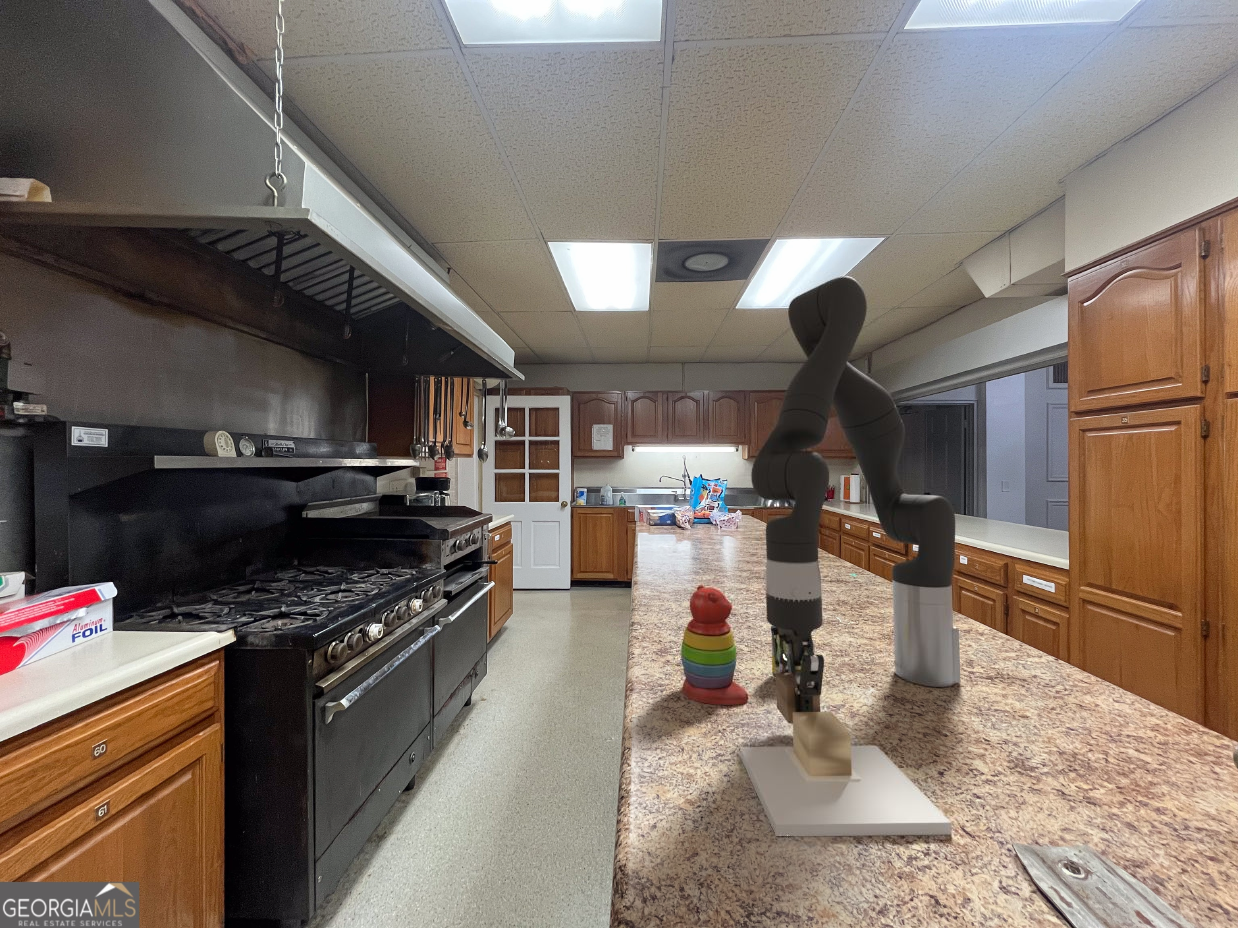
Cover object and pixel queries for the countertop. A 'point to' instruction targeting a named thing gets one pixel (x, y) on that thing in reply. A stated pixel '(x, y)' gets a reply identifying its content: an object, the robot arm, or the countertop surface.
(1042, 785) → the countertop surface
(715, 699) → the stacking bear
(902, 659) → the robot arm
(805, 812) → the build board
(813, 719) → the oak block
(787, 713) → the walnut block
